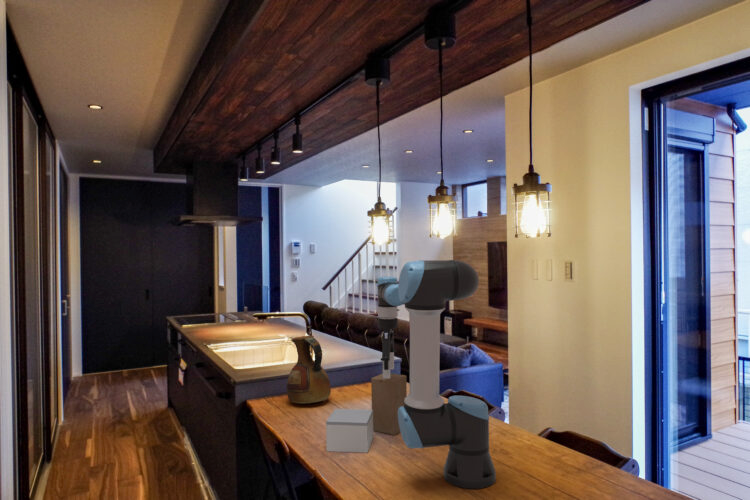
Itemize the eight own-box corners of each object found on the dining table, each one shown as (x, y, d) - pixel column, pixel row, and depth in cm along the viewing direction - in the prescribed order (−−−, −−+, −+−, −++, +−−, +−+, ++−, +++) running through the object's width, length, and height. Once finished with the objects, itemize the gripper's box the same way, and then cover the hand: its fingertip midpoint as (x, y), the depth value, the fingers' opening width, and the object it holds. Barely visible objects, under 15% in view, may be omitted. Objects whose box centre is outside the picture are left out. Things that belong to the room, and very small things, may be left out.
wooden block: (394, 435, 184) (393, 381, 184) (371, 431, 190) (370, 377, 190) (407, 427, 193) (406, 375, 193) (385, 423, 198) (384, 372, 198)
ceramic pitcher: (307, 393, 241) (306, 330, 241) (340, 400, 230) (339, 334, 230) (277, 404, 225) (276, 336, 226) (310, 411, 214) (309, 341, 214)
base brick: (367, 452, 169) (366, 422, 169) (326, 451, 171) (326, 421, 171) (373, 437, 183) (372, 409, 183) (335, 436, 185) (335, 408, 185)
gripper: (394, 322, 179) (395, 382, 179) (400, 313, 203) (401, 365, 203) (373, 322, 180) (374, 382, 180) (382, 313, 204) (382, 365, 204)
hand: (388, 373), depth 192 cm, fingers open, 13 cm apart
